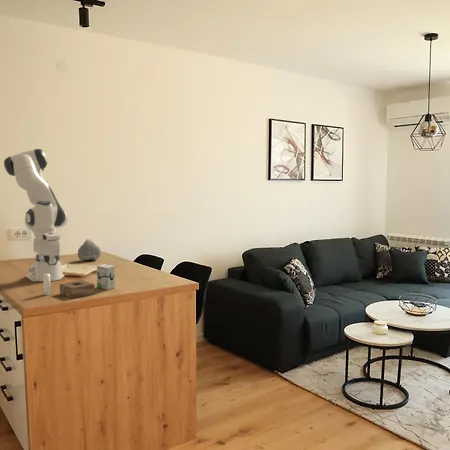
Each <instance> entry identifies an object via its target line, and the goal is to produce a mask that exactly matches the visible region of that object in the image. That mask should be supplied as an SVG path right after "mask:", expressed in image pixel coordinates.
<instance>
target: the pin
mask: <svg viewBox="0 0 450 450" xmlns="http://www.w3.org/2000/svg"><path fill="white" fill-rule="evenodd" d="M42 282H43V295H44V296H50V295H52V288H51V282H52V281H50V274H43V281H42Z"/></svg>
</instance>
